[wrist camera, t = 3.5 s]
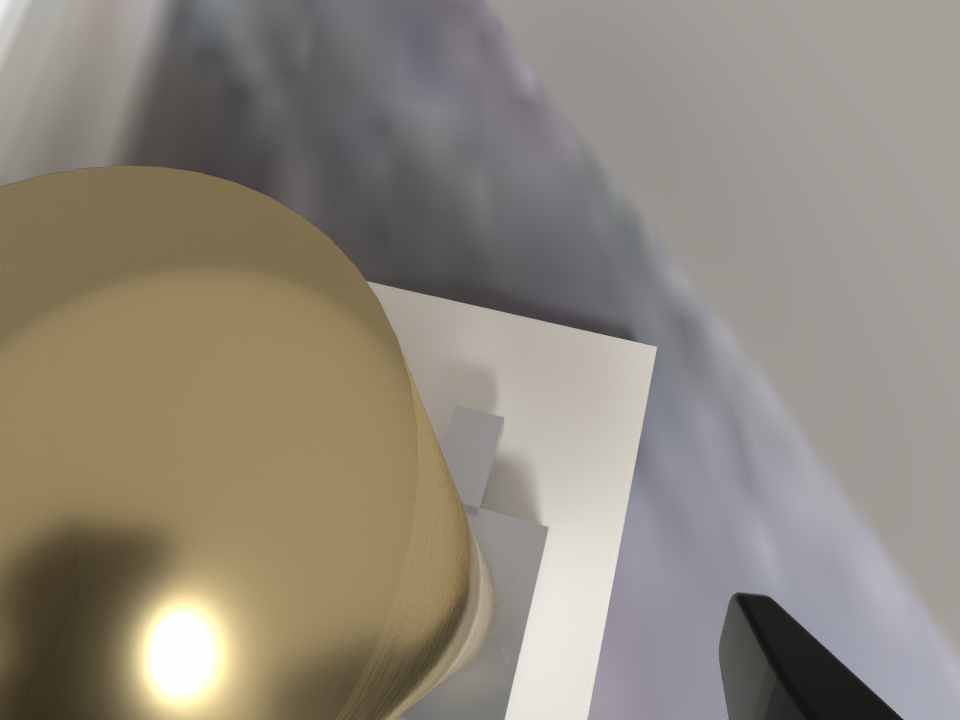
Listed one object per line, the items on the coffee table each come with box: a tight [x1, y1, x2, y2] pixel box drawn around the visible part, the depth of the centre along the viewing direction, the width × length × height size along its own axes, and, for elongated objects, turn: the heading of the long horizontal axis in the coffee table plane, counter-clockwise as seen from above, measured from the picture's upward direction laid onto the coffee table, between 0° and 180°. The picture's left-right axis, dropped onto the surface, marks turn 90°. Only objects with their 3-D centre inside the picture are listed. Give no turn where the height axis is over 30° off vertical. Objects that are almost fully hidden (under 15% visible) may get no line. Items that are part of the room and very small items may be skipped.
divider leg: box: [0, 166, 549, 720], centre depth 9 cm, size 7×4×14 cm
